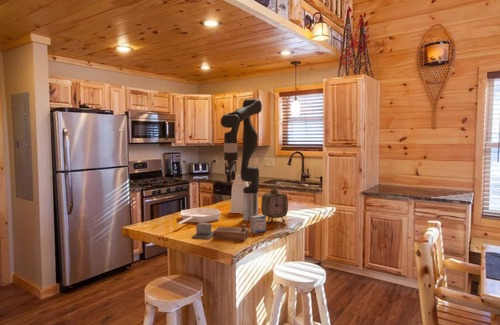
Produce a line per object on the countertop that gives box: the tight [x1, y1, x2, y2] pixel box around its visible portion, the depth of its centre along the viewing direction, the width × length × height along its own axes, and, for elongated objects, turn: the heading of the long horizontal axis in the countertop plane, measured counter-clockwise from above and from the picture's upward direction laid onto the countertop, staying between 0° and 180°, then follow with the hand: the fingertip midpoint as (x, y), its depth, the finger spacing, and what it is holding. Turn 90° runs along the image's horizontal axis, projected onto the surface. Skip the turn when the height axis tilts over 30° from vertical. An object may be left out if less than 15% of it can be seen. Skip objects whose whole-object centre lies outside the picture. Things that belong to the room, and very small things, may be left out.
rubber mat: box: [191, 231, 213, 240], centre depth 174 cm, size 12×9×1 cm
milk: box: [230, 174, 250, 215], centre depth 232 cm, size 12×12×26 cm
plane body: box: [212, 223, 250, 242], centre depth 171 cm, size 10×16×7 cm, turn 77°
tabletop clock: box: [260, 180, 289, 225], centre depth 204 cm, size 14×9×25 cm, turn 117°
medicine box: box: [249, 214, 267, 234], centre depth 182 cm, size 8×4×9 cm, turn 126°
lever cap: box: [195, 222, 212, 236], centre depth 174 cm, size 4×7×6 cm, turn 77°
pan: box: [176, 207, 222, 226], centre depth 205 cm, size 28×41×4 cm
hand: (231, 180), depth 184 cm, fingers open, 8 cm apart
